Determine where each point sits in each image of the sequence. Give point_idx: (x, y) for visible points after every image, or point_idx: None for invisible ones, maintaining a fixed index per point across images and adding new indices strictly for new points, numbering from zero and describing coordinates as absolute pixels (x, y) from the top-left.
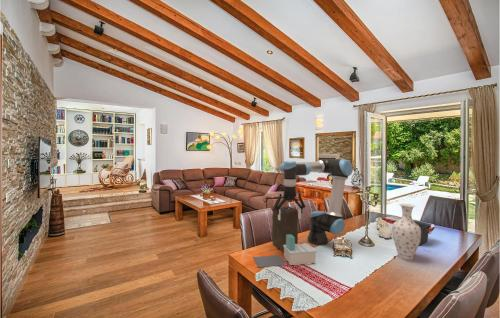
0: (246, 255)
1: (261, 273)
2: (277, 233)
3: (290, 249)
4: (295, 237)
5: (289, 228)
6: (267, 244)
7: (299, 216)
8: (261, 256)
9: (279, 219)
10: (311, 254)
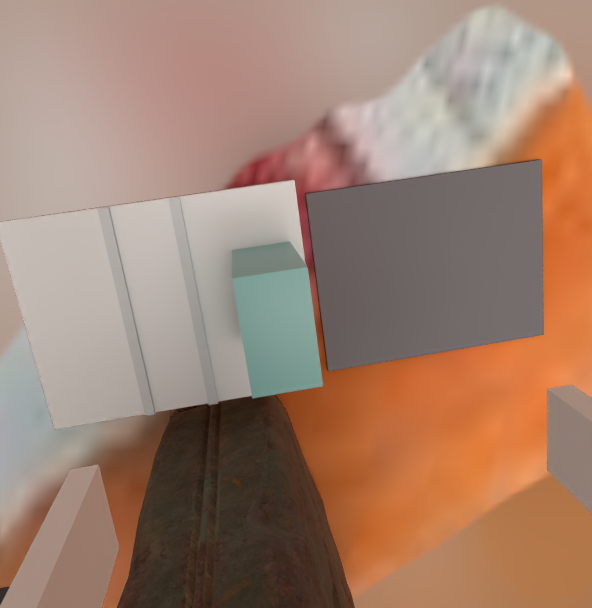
0: (582, 370)
1: (532, 66)
2: (343, 593)
3: (279, 245)
4: (174, 479)
5: (255, 524)
6: (384, 565)
7: (89, 519)
8: (479, 343)
9: (574, 393)
10: None
